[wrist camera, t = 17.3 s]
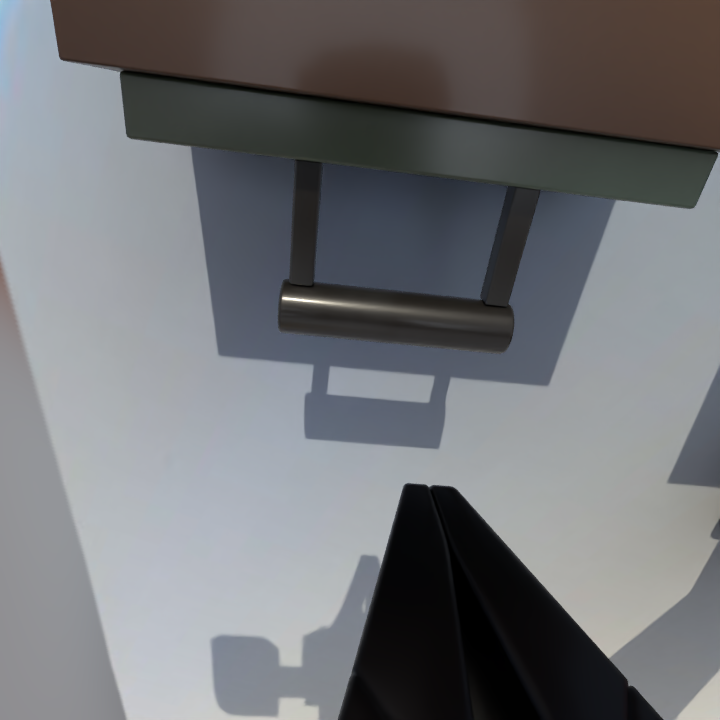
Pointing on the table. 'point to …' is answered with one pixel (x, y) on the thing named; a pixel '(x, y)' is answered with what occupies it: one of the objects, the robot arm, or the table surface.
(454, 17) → the cabinet
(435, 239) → the table surface
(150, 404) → the table surface
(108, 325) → the table surface
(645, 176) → the drawer
